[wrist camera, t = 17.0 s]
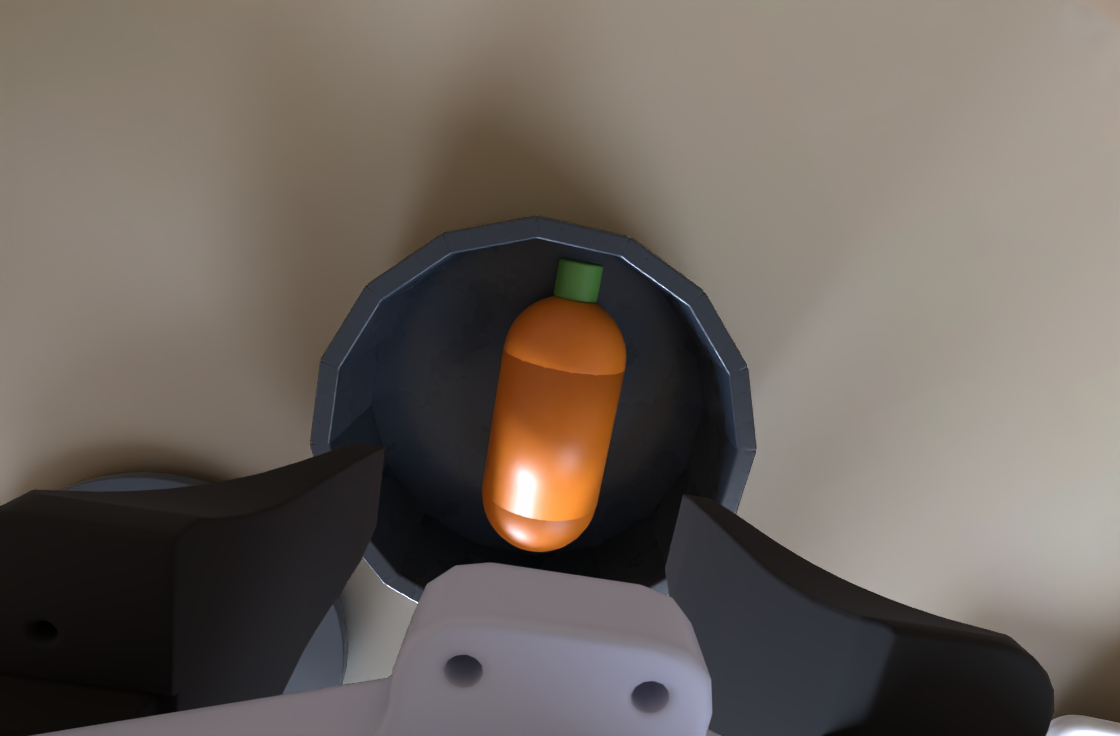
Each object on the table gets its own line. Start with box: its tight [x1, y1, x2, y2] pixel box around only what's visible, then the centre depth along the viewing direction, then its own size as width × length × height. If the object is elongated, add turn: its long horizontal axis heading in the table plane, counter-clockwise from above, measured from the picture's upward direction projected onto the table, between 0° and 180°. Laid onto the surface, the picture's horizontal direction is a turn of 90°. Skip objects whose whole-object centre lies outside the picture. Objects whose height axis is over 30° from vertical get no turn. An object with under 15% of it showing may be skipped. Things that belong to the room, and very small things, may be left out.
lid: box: [59, 472, 348, 695], centre depth 21 cm, size 14×14×5 cm
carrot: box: [482, 258, 626, 552], centre depth 19 cm, size 10×4×4 cm, turn 170°
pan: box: [310, 216, 756, 603], centre depth 19 cm, size 13×13×4 cm
